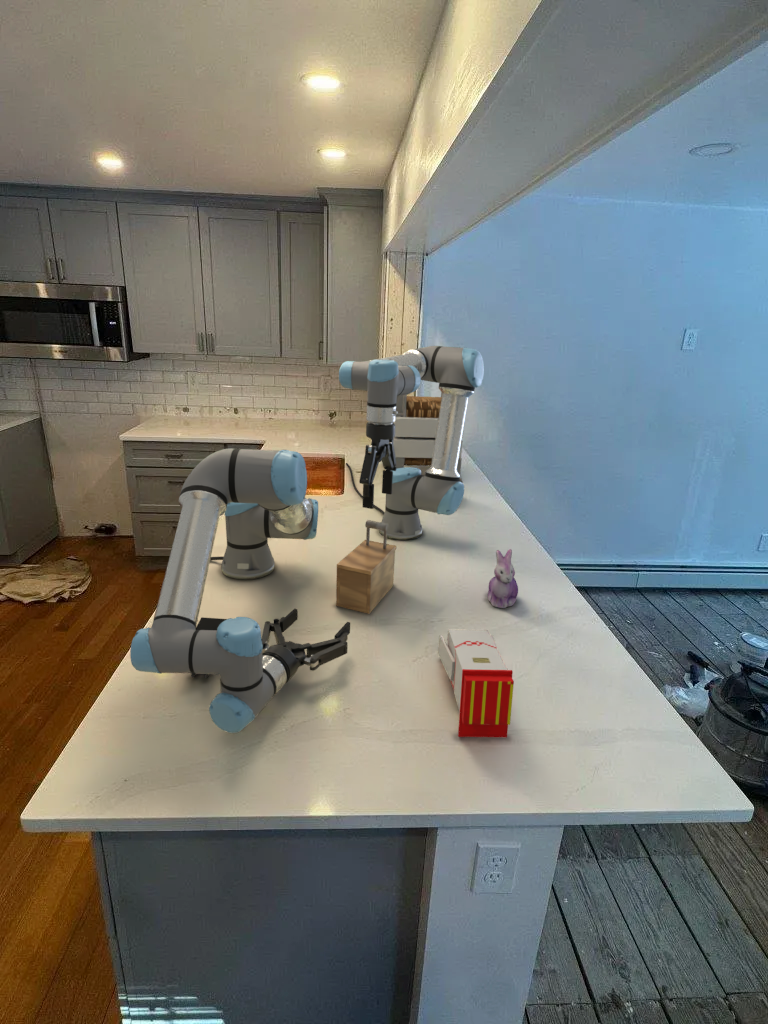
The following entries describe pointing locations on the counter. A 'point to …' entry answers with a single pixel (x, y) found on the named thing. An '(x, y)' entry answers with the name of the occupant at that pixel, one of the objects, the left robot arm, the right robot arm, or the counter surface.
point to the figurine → (503, 582)
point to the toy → (478, 682)
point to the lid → (368, 552)
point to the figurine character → (208, 628)
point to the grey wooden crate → (417, 430)
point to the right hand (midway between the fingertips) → (377, 500)
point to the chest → (364, 586)
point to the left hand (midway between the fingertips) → (322, 620)
